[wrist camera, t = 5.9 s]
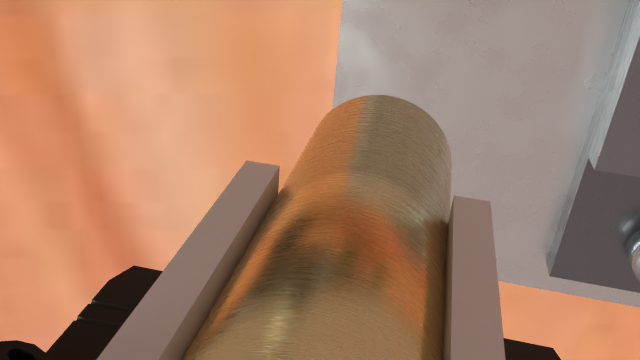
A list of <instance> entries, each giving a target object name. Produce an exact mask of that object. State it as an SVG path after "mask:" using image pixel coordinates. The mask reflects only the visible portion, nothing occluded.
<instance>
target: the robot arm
mask: <svg viewBox="0 0 640 360" xmlns="http://www.w3.org/2000/svg"><path fill="white" fill-rule="evenodd" d="M278 186H279V166H276V165H270V164H264V163H258V162H252V161H246V162H245V163H244V165H243V166H242V167H241V169H240V170H239V171H238V173H237V174H236V175H235V177H234V178H233V179H232V181H231V182H230V183H229V185H228V186H227V187H226V189H225V190H224V191H223V193H222V194H221V195H220V197H219V198H218V199H217V200H216V202H215V203H214V204H213V206H212V207H211V208H210V210H209V211H208V212H207V214H206V215H205V216H204V218H203V219H202V220H201V222H200V223H199V224H198V226H197V227H196V228H195V230H194V231H193V232H192V234H191V235H190V236H189V238H188V239H187V240H186V242H185V243H184V244H183V246H182V247H181V248H180V250H179V251H178V252H177V254H176V255H175V256H174V257H173V259H172V260H171V261H170V263H169V264H168V265H167V267H166V268H165V269H164V271H158V270H153V269H148V268H143V267H139V266H133V267H131V268H129V269H127V270H126V271H124V272H122V273H121V274H119V275H117V276H116V277H114V278H112V279H110V280H109V281H108V282H107V283H106V284H105V286H104V287H103V288H102V289H101V290H100V291H99V292H98V294H97V295H96V296H95V297H94V298H93V299H92V303H91V304H88V305H87V306H86V307H85V308H84V310H83V311H82V312H81V313H80V314H79V315H78V318H77V320H76V321H73V322H72V323H71V325H70V326H69V327H68V328H67V329H66V330H65V331H64V333H63V334H62V335H61V336H60V337H59V338H58V339H57V341H56V342H55V343H54V344H53V345H52V346H51V347H50V349H49V350H48V351H47V352H46V353H45V352H44V351H42V350H41V349H40V348H38V347H37V346H36V345H34V344H30V343H26V342H22V341H17V340H16V341H1V342H0V360H182V359H183V358H184V356H185V354H186V352H187V351H188V349H189V347H190V346H191V344H192V342H193V340H194V339H195V337H196V335H197V334H198V332H199V330H200V328H201V327H202V325H203V323H204V321H205V320H206V318H207V316H208V315H209V313H210V311H211V309H212V308H213V306H214V304H215V302H216V301H217V299H218V297H219V296H220V294H221V292H222V290H223V289H224V287H225V285H226V284H227V282H228V280H229V278H230V277H231V275H232V273H233V271H234V270H235V268H236V266H237V265H238V263H239V261H240V259H241V258H242V256H243V254H244V252H245V251H246V249H247V247H248V246H249V244H250V242H251V240H252V239H253V237H254V235H255V234H256V232H257V230H258V228H259V227H260V225H261V223H262V221H263V220H264V218H265V216H266V215H267V213H268V211H269V209H270V208H271V206H272V204H273V202H274V201H275V199H276V197H277V196H278ZM443 360H561V359H560V358H559V356H558V355H557V353H556V352H555V350H554V349H553V348H550V347H545V346H540V345H535V344H530V343H525V342H520V341H515V340H510V339H505V338H503V328H502V318H501V307H500V297H499V286H498V276H497V265H496V255H495V244H494V234H493V223H492V213H491V202H490V201H485V200H479V199H473V198H467V197H461V196H455V195H454V197H453V202H452V206H451V211H450V216H449V220H448V230H447V257H446V285H445V312H444V339H443Z"/></svg>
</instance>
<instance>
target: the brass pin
mask: <svg viewBox="0 0 640 360" xmlns="http://www.w3.org/2000/svg"><path fill="white" fill-rule="evenodd" d="M451 170H452V159H451V152H450V147H449V144H448V141H447V138H446V136H445V134H444V132H443V131H442V129H441V128H440V126H439V125H438V123H437V122H436V121H435V120H434V119H433V118H432V117H431V116H430V115H429V114H428V113H427V112H425V111H424V110H423V109H421V108H420V107H418V106H417V105H415V104H413V103H411V102H409V101H407V100H404V99H401V98H398V97H393V96H388V95H366V96H361V97H357V98H354V99H350V100H348V101H346V102H344V103H342V104H340V105H338V106H337V107H335V108H334V109H333V110H331V111H330V112H329V113H328V114H327V115H326V116H325V117H324V118H323V120H322V121H321V122H320V124H319V125H318V127H317V128H316V130H315V132H314V134H313V135H312V137H311V139H310V140H309V142H308V144H307V146H306V147H305V149H304V151H303V152H302V154H301V156H300V158H299V159H298V161H297V163H296V165H295V166H294V168H293V170H292V171H291V173H290V175H289V177H288V178H287V180H286V182H285V184H284V185H283V187H282V189H281V190H280V192H279V194H278V196H277V197H276V199H275V201H274V202H273V204H272V206H271V208H270V209H269V211H268V213H267V215H266V216H265V218H264V220H263V221H262V223H261V225H260V227H259V228H258V230H257V232H256V234H255V235H254V237H253V239H252V240H251V242H250V244H249V246H248V247H247V249H246V251H245V252H244V254H243V256H242V258H241V259H240V261H239V263H238V265H237V266H236V268H235V270H234V271H233V273H232V275H231V277H230V278H229V280H228V282H227V284H226V285H225V287H224V289H223V290H222V292H221V294H220V296H219V297H218V299H217V301H216V302H215V304H214V306H213V308H212V309H211V311H210V313H209V315H208V316H207V318H206V320H205V321H204V323H203V325H202V327H201V328H200V330H199V332H198V334H197V335H196V337H195V339H194V340H193V342H192V344H191V346H190V347H189V349H188V351H187V352H186V354H185V356H184V358H183V359H182V360H443V339H444V312H445V285H446V257H447V230H448V220H449V216H450V200H451Z"/></svg>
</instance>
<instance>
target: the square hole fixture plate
mask: <svg viewBox="0 0 640 360" xmlns="http://www.w3.org/2000/svg"><path fill="white" fill-rule="evenodd" d="M366 95H388V96H393V97H398V98H401V99H404V100H407V101H409V102H411V103H413V104H415V105H417V106H418V107H420V108H421V109H423V110H424V111H425V112H427V113H428V114H429V115H430V116H431V117H432V118H433V119H434V120H435V121H436V122H437V123H438V125H439V126H440V128H441V129H442V131H443V132H444V134H445V136H446V138H447V141H448V144H449V147H450V152H451V159H452V170H451V200H450V211H451V206H452V202H453V197H454V195H455V196H461V197H467V198H473V199H479V200H485V201H490V202H491V213H492V223H493V234H494V244H495V255H496V265H497V276H498V281H502V282H507V283H513V284H518V285H523V286H529V287H534V288H539V289H544V290H550V291H555V292H560V293H566V294H571V295H576V296H582V297H587V298H592V299H598V300H603V301H608V302H614V303H619V304H624V305H629V306H635V307H640V0H343V3H342V13H341V24H340V35H339V45H338V56H337V67H336V77H335V88H334V99H333V109H334V108H335V107H337V106H338V105H340V104H342V103H344V102H346V101H348V100H350V99H354V98H357V97H361V96H366ZM333 109H332V110H333Z"/></svg>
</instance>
